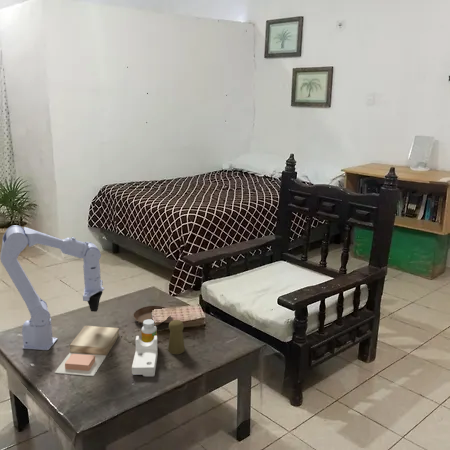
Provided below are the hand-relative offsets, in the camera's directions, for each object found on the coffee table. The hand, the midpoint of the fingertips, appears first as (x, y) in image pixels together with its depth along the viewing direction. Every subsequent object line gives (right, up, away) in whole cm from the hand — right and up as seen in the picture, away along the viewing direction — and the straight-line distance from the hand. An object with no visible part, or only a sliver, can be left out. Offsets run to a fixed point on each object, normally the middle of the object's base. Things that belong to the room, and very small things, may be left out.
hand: (94, 310), depth 181 cm
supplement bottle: (+21, -12, -5) cm, 25 cm away
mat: (0, -15, -17) cm, 23 cm away
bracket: (+21, -16, -16) cm, 31 cm away
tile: (0, -14, -18) cm, 23 cm away
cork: (+31, -13, -7) cm, 34 cm away
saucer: (+19, -6, +14) cm, 25 cm away
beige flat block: (+2, -11, -4) cm, 12 cm away
